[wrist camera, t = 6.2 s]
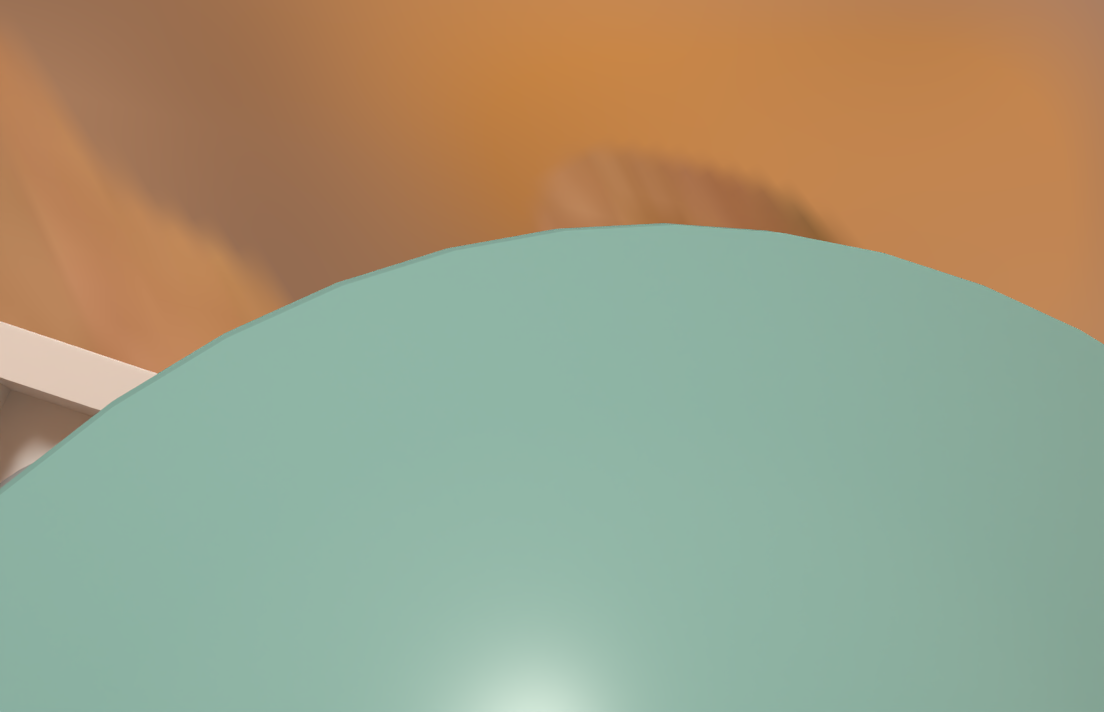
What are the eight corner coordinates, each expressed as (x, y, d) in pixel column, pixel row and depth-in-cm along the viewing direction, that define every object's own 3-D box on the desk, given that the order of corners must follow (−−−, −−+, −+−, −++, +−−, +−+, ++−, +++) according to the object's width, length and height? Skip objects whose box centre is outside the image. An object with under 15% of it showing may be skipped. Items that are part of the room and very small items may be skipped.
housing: (565, 980, 19) (588, 1029, 17) (-210, 745, 18) (-299, 761, 16) (675, 554, 22) (708, 544, 20) (7, 331, 21) (-42, 294, 19)
